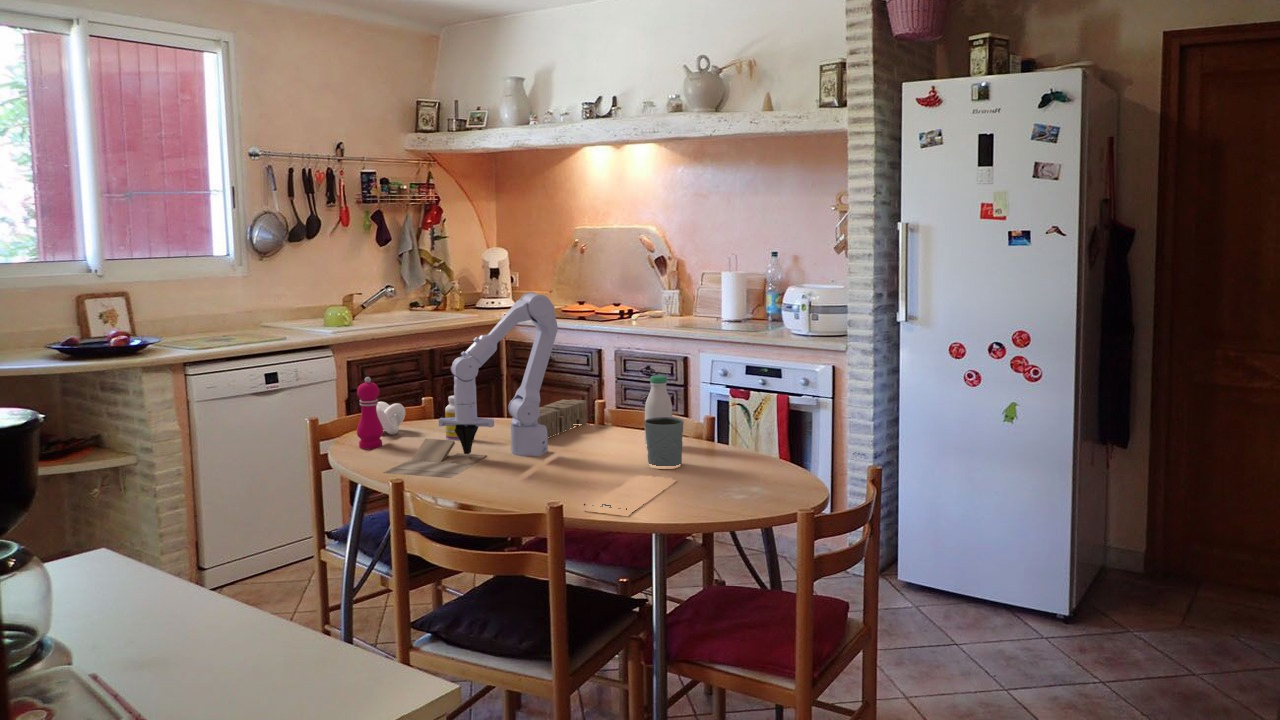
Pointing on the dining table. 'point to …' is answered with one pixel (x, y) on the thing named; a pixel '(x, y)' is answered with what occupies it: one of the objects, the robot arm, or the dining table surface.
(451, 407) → the supplement bottle
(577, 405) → the block tower
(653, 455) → the grey-green tapered open cylinder
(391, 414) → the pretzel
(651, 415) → the milk bottle
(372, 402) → the pepper mill
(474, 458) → the plank
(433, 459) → the plank
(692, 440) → the dining table surface
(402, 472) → the grey slab
